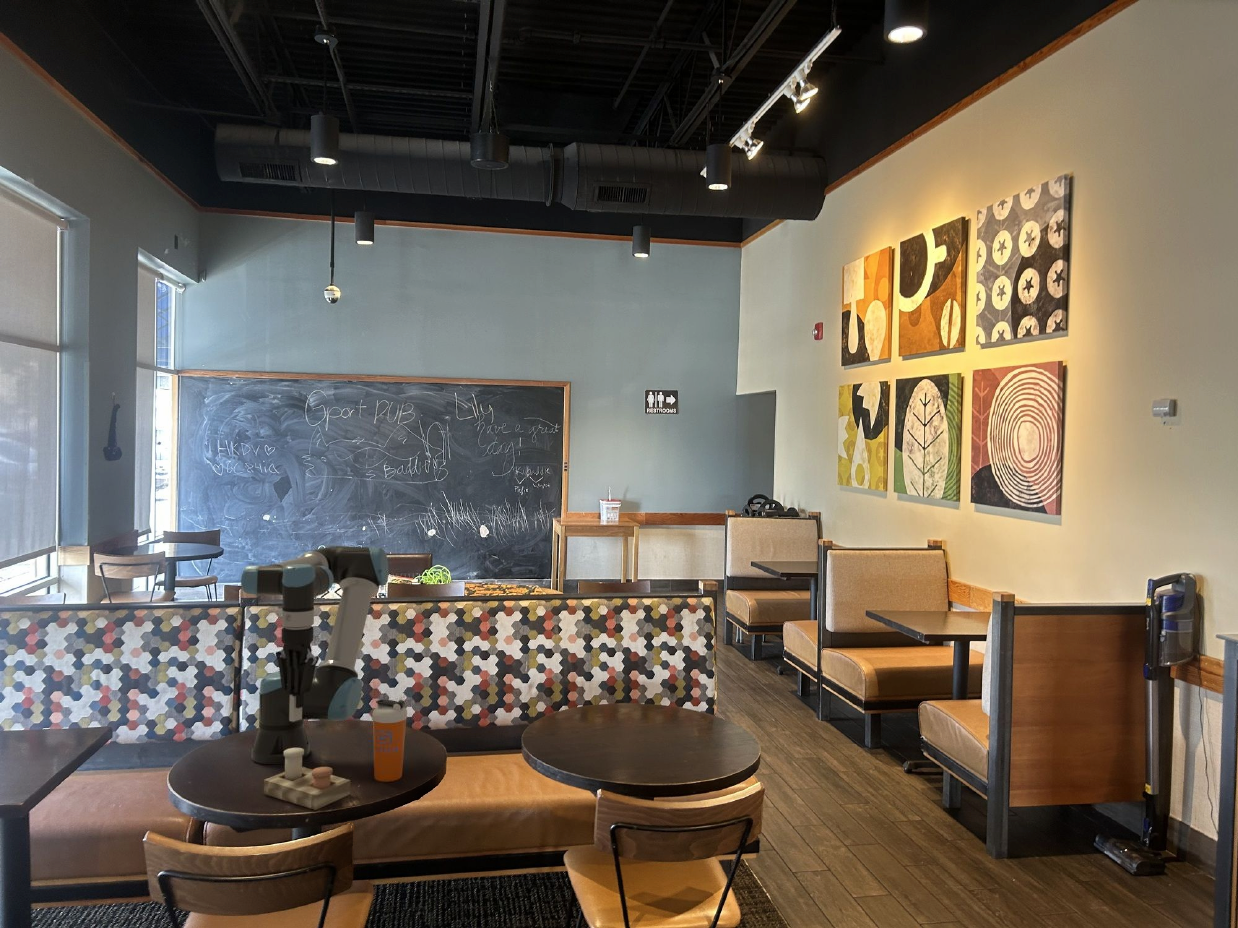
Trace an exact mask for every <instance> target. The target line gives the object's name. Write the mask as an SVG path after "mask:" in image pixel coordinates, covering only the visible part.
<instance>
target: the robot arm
mask: <svg viewBox="0 0 1238 928" xmlns="http://www.w3.org/2000/svg"><path fill="white" fill-rule="evenodd" d="M389 572H390V571H389V560H388V555H387V552H386V551H385V550H384V549H383V548H381V547H372V546H368V547H367V546H347V545H346V546H341V545H334V546H333V545H332V546H327V547H322V548H318V549H314V550H310V551H307V552H304V553H303V554H302V555H300V557H296V558H292V559H289V560H285V561H281V562H278V563H273V564H268V565H259V564H257V565H248V566H246V567H245V568H244V569H243V571H242V573H241V577H240V578H241V579H240V585H241V589H242V591H243V593H245V594H247V595H255V596H258V595H259V596H260V595H261V596H262V595H263V596H267V595H269V596H271V595H272V596H282V607H281V608H282V609H281V610H282V611H281V625H282V626H283V627H282V628H281V639H280V640H281V643H282V644H283V645H282V648H281V650H279V651H276V652H275V657H276V660H277V663H278V669H279V670H278V671H274V672H271V673H268V674H267V675H265V676H264V677H262V679H261V680H260V684H259V692H258V695H259V697H258V699H259V700H258V701H259V702H258V703H259V705H258V706H259V708H258V709H259V713H258V717H259V718H258V730H257V734H256V737H255V741H254V744H253V745H252V748H251V760H252V761H253V762H255V763H257V764H263V765H264V764H265V765H282V764H283V765H284V764H285V757H284V751H285V750H287V749H290V748H302V749H304V754H303V755H302V759H304V758H306V757H307V756H309V755H310V746H311V745H310V741H309V739H308V735H307V732H306V729H305V725H304V723H305V722H304V720H309V721H310V720H311V721H313V720H314V721H330V722H337V721H347V720H349V719H350V718H351V717H353V715H355V713H356V711H357V709H358V707H359V704H360V702H361V698H362V690H363V683H362V681H361V679H360V678H359V673H358V672H357V671H356V669H355V667H356V664H357V659H358V655H359V651H360V646H361V643H362V642H361V641H362V637H363V633H364V630H365V627H366V621H367V617H368V615H369V609H370V606H371V600H372V597H373V596H376V595H377V594H378V592H379V590H380V586H381V587H383V586H386V585H387V583H388V581H389V574H390V573H389ZM333 584H334V585H338V586H339V589H340V590H341V591H342V593H341V596H340V597H341V598H340V600H339V604H338V608H337V611H336V612H337V613H336V616H335V620H334V624H333V626H332V631H331V636H330V638H329V643H328V647H327V650H326V653H325V657H324V661H323V663H321V665H319V666H318V667H316V666H317V664H318V662H319V660H320V657H319V656H317V655H314V654H313V653H312V647H311V644H312V642H313V641H314V632H315V631H314V627H313V625H314V623H315V598H316V597H318V596H322V595H324V594H325V593H327V592H328V591H329V590H330V589H331V588H332V586H333Z"/></svg>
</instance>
